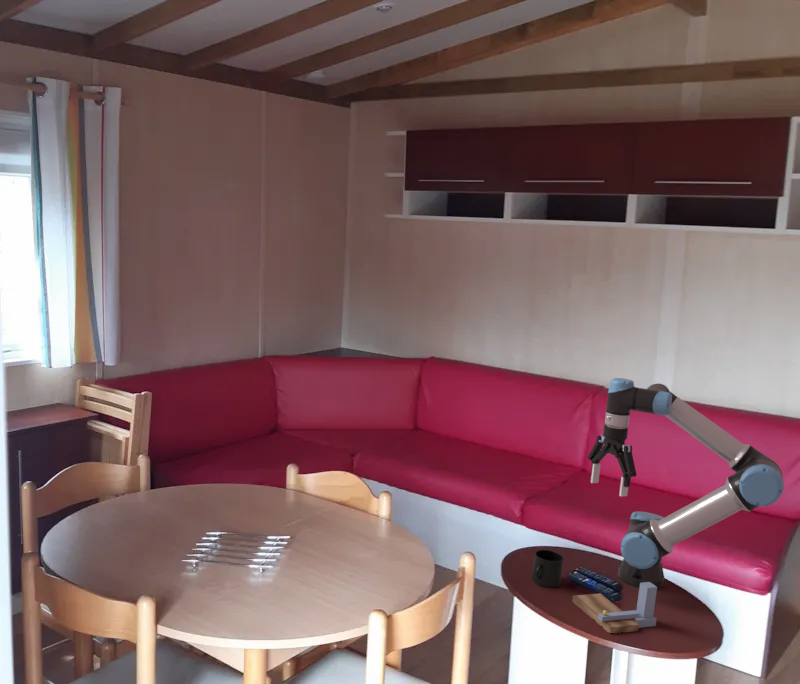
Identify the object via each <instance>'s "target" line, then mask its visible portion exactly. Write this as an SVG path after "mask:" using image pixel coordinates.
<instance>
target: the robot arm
mask: <svg viewBox="0 0 800 684" xmlns="http://www.w3.org/2000/svg"><path fill="white" fill-rule="evenodd" d="M634 383H635V382H634V381H633V379H632V380H631V379H628V378H621V377H613V378H612V379H610V381H609V387H608V391H607V402H606V410H605V415H604V416H605V418H604V426H603V433H602V435H597V436H596V441H595V443H594V445H593V447H592V448H591V451H590V452H589V455H588V456H587V459H588V460H589V461H590V462H591V469H590V472H591V476H590V483H591V484H598V483H599V482H600V472H601V461H602V460H603V458H605V457H606V456H607V455H608V454H611V455H612V456H614V457H615V459H616V460H617V462H618V464H619V467H620V469H621V472H622V476H621V479H620V485H619V495H618V497H628V493H629V488H630V486H631V479H632V478H634V477H637V470H636V466H635V461H634V457H633V446H632V445H629V444H628V445H626V443H625V441H626V440H627V439H628V432H629V429H628V427H629V426H630V418H631V417H630V416H631V411H633V412H634V411H635V412H640V413H645V414H653V415H656V416H664V417H666V418H667V419H668V420H670V421H671V422H672V423H674V424H675V425H677V426H678V427H679V428H680V429H682V430H683V431H685V432H686V433H688V434H689V435H690V436H692V438H695V439H696V440H697V441H698V442H700V443H701V444H702V445H704V446H706V447H707V448H708V449H709V450H711V451H712V452H713V453H714V454H716V455H718V456H719V457H720V458H721V459H723V460H724V461H726V462H727V463H728V465H729V468H730V469H731V470H732V471H734V472H735V473H733V474H731V475H730V476H728V477H726V481H725V484H724V485H721V486H720V487H718V488H716V489H715V490H713V491H711V492H709V493H707V494H706V495H704V496H702V497H700V498H698V499H697V500H695V501H692V502H691V503H689V504H687V505H685V506H683V507H681V508H680V509H677V510H676V511H674V512H672V513H670V514H669V515H667V516H665V517H664V516H661V515H659V514H657V513H652V512H646V511H633V512H632V513H631V515H630V517H629V520H630V522H629V525H628V526H629V527H628V529H627V531H626V533H625V535H624V536H623V538H622V539H621V543H620V552H621V553H620V554H621V556H622V557H623V559H622V560H621V564H620V565H619V566H618V572H617V577H618V578H619V579H620V580H621V581H622V582H624V583H625V584H627V585H631V586H634V587H637V588H640V583H643V582H651V583H652V584H653V585H655V586H656V587H657V589H660V588H662V587H663V586H664V584H665V574H664V569H663V563H662V559H663V558H664V557H666V556H667V555H669V554H671V553H673V549H674V546H675V545H677V544H679V543H681V542H684V541H685V540H687V539H688V538H691V537H693V536H694V535H696V534H698V533H701V532H702V531H704V530H705V529H707V528H709V527H712V526H713V525H715V524H718V523H719V522H721V521H723V520H725V519H727V518H729V517H731V516H732V515H734V514H736V513H739V512H740V511H745V512H749V513H750V512H751V511H754V510H755V509H758V508H759V507H762V508H763V507H769V506H771V505H774V504H775V503H776V502H777V501H778V500H779V499H780V498H781V496H782V494H783V492H784V489H785V485H784V479H783V472H782V469H781V467H780V466H779V464H778V463H776V462H775V460H773V459H772V458H771V457H769V456H767V455H765V454H764V453H763V452H761V451H759V450H758V449H756V448H755V447H754V446H752V445H751V444H749V443H748V444H746V443H745V444H744V443H742V442H741V441H739V440H738V439H737V438H736V437H734V436H732V435H731V433H729V432H727V431H726V430H724V429H723V428H721V427H720V425H717V424H716V423H715V422H713V421H712V420H710V419H709V418H708V417H706V416H705V415H703V414H702V413H701V412H699V411H698V410H697V409H695V408H694V407H692V406H691V405H689V404H688V403H687V402H685V401H684V400H683V399H681V398H680V397H679V396H676V394H675V393H673V392H671V391H670V389H669V388H668V386H667V385H665V384H662V383H660V382H659V383H654V384H650V386H648V387H647V388H641V387H636V386H635V384H634Z"/></svg>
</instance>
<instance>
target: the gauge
mask: <svg viewBox="0 0 800 684" xmlns="http://www.w3.org/2000/svg"><path fill="white" fill-rule="evenodd" d="M638 588H639V589H638V595H637V596H638V597H637V602H636V603H637V604H636V610H635V609H632V610H624V611H623V610H622V612H612V613H607V611H606V610H603V613H601V614H598V619H599V620H601V621H612V620H622V619H633V620H634V621H636V622H637V623H638V624H639V629H641V628H651V627H656V626H657V620H658V619H657V617H655V615H654V613H655V604H656V598H657V593H658V591H657V590H658V588H657V587H656V586H655V585H653V584H652V583H651V582H643V583H640V587H638Z"/></svg>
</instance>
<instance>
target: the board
mask: <svg viewBox="0 0 800 684" xmlns="http://www.w3.org/2000/svg"><path fill="white" fill-rule="evenodd" d="M572 603H574V605H576V606H577V607H578V608H579V609H580V610H581V611H582V612H584V613H585V614H586V615H587V616H588V617H589V618H591V619H592V620H593V619H594V620H595V621H596V622H595V621H594V620H593V621H594V622H595V623H596V624H597V625H599V626H600V627H601V626H602V627H603V630H605V631H606V632H607V633H608V632H609V633H614V634H621V632H623V633H630V632H639V629H640V628H639V624H638V623H637V622H636V621H634V620H633V619H622V620H612V621H601V620H599V619H598V614H601V613H603V610H606V611H607V613H612V612H622V611H623V610H622V609H621V608H619V607H618V606H617V605H616V604H614V603H613V602H611V600H609V599H608V598H607V597H605V596H604V595H603V594H602V593H600V592H599V593H591V594H590V593H588V594H578V595H572ZM602 627H601V628H602ZM609 633H608V634H609Z"/></svg>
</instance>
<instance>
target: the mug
mask: <svg viewBox="0 0 800 684" xmlns="http://www.w3.org/2000/svg"><path fill="white" fill-rule="evenodd" d="M564 560H565V558H564V556H563V555H562V554H561V553H559V552H557V551H553V550H550V549H539V550H536V551H534V559H533V566H532V573H531V580H532V582H533V583H535V584H536V585H538V586H540V587H545V588H557V587H559V586H560V585H561V584H562V583H561V582H562V577H563V576H562V573H563V567H564Z"/></svg>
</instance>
